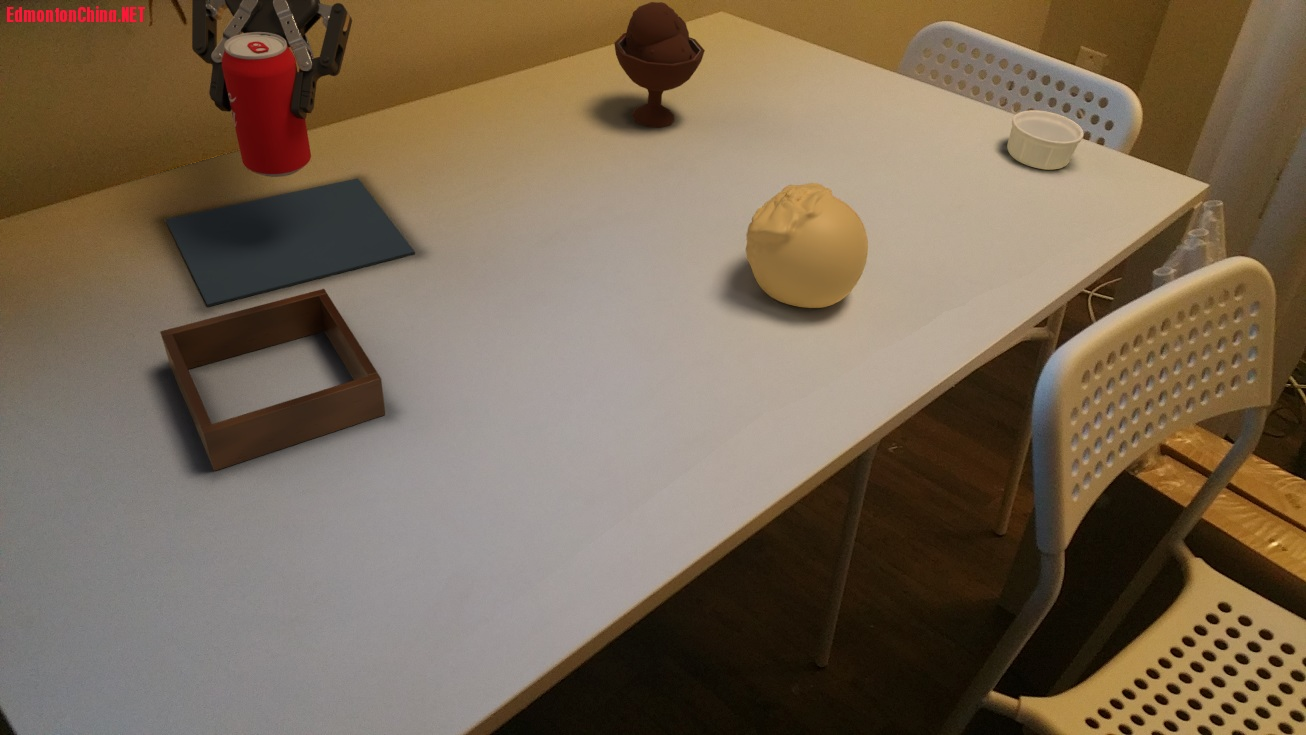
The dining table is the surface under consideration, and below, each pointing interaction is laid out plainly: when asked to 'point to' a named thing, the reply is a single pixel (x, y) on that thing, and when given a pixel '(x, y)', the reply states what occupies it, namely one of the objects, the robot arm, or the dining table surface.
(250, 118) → the beverage can
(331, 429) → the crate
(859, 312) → the dining table surface
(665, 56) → the ice cream bowl
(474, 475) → the dining table surface
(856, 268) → the sculpture
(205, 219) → the cloth mat
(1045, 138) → the ramekin
